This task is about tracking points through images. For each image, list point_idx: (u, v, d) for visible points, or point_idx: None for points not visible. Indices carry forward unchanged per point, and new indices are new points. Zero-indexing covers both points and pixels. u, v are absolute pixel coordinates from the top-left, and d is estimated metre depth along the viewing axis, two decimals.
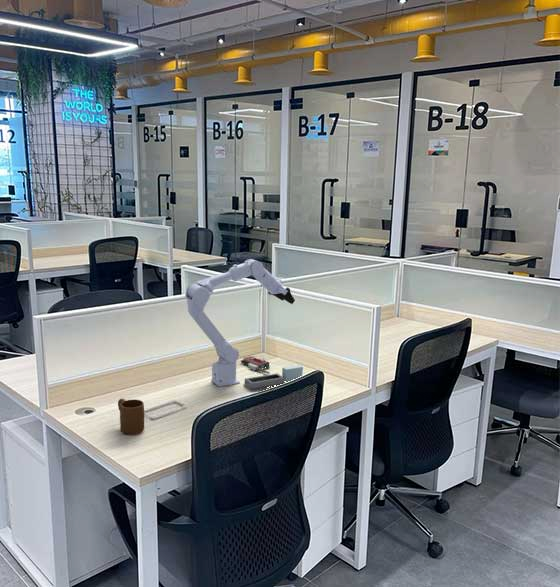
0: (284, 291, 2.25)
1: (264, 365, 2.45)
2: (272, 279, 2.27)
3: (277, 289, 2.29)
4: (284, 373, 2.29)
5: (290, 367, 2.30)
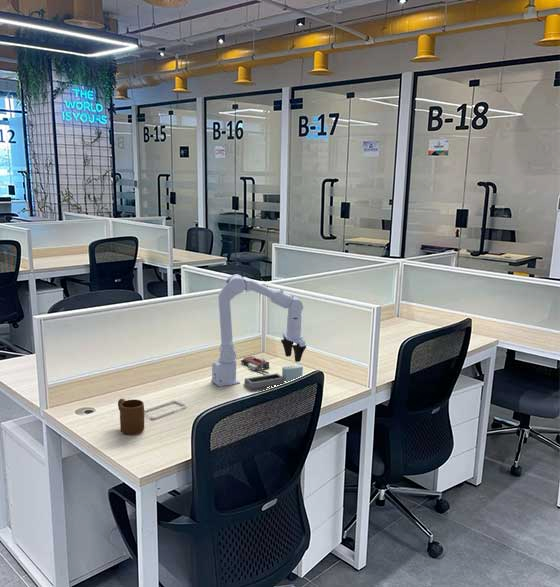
0: (303, 343, 2.23)
1: (264, 365, 2.45)
2: (299, 327, 2.26)
3: (296, 339, 2.26)
4: (284, 373, 2.29)
5: (290, 367, 2.30)
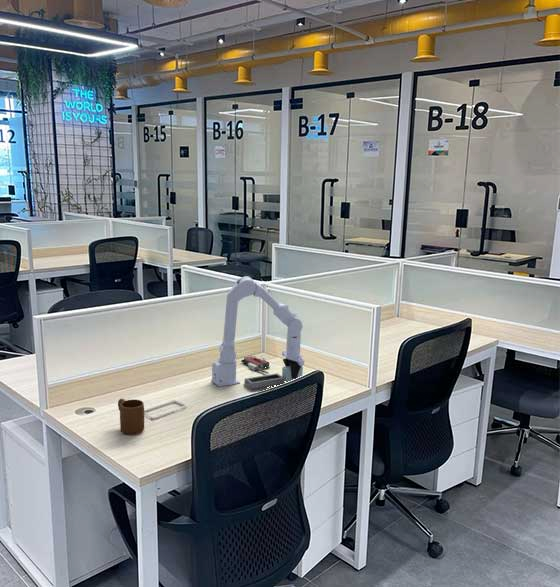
0: (302, 362, 2.24)
1: (264, 365, 2.46)
2: (299, 346, 2.28)
3: (295, 357, 2.27)
4: (284, 373, 2.29)
5: (290, 367, 2.30)
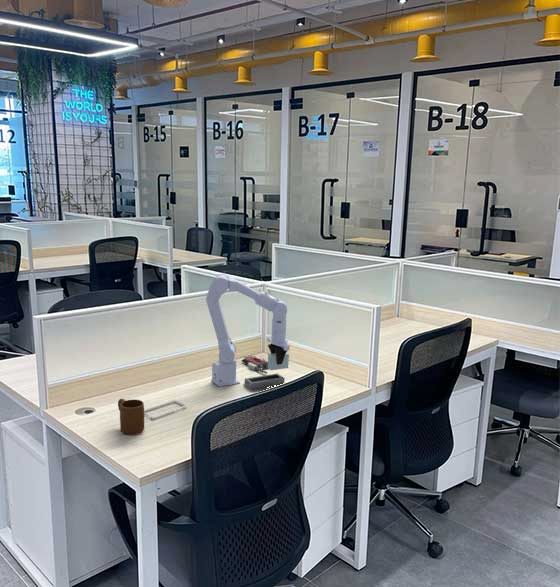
0: (287, 347, 2.19)
1: (263, 365, 2.46)
2: (284, 331, 2.23)
3: (280, 343, 2.23)
4: (270, 360, 2.25)
5: None
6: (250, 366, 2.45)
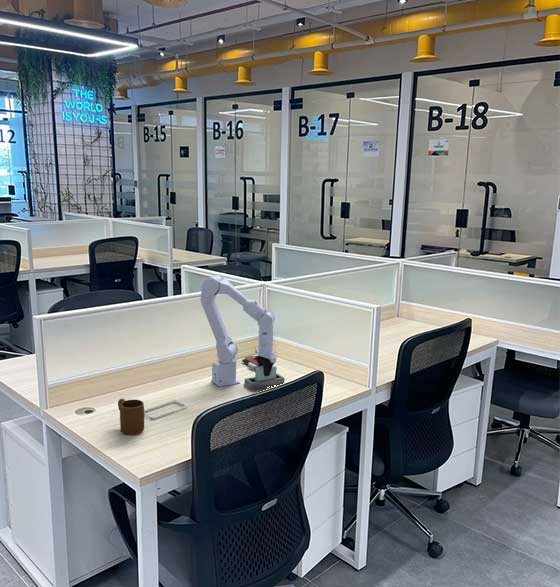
0: (274, 359, 2.17)
1: None
2: (271, 343, 2.21)
3: (267, 354, 2.20)
4: (257, 372, 2.23)
5: None
6: (250, 366, 2.45)
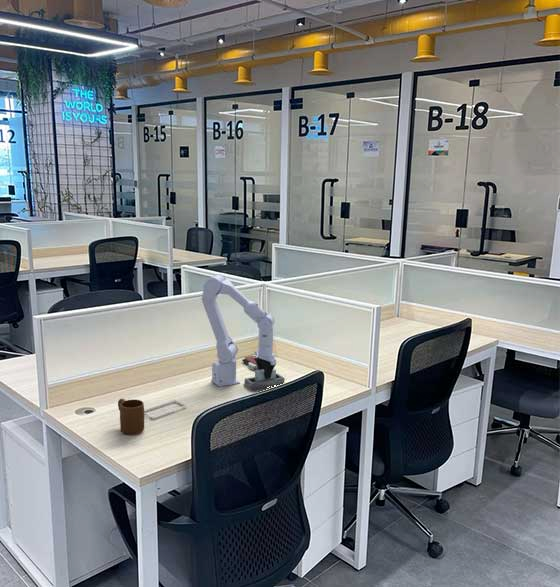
0: (274, 361, 2.17)
1: None
2: (271, 345, 2.21)
3: (267, 357, 2.21)
4: (257, 376, 2.23)
5: (262, 370, 2.24)
6: (250, 366, 2.45)
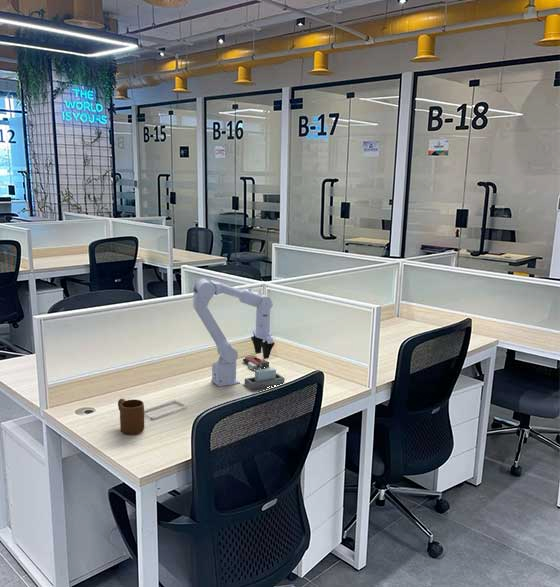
0: (270, 340, 2.24)
1: (263, 365, 2.46)
2: (268, 325, 2.27)
3: (264, 336, 2.27)
4: (257, 376, 2.23)
5: (262, 370, 2.24)
6: (249, 365, 2.45)
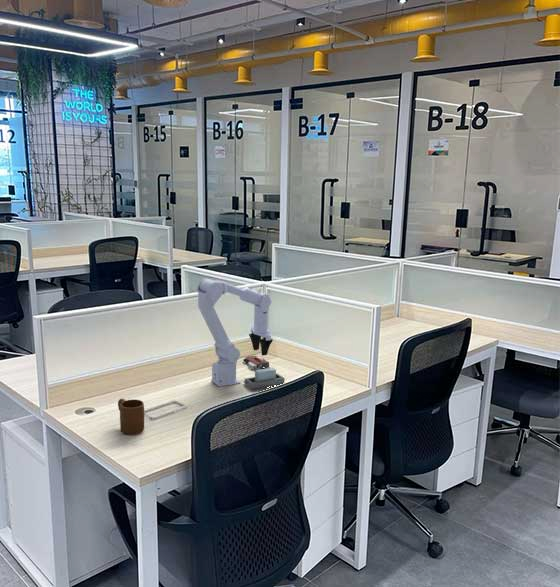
0: (268, 337, 2.28)
1: (263, 365, 2.46)
2: (266, 322, 2.32)
3: (262, 333, 2.32)
4: (257, 376, 2.23)
5: (262, 370, 2.24)
6: (249, 365, 2.45)
